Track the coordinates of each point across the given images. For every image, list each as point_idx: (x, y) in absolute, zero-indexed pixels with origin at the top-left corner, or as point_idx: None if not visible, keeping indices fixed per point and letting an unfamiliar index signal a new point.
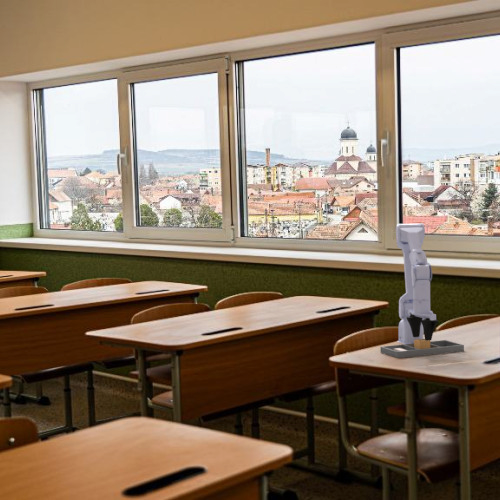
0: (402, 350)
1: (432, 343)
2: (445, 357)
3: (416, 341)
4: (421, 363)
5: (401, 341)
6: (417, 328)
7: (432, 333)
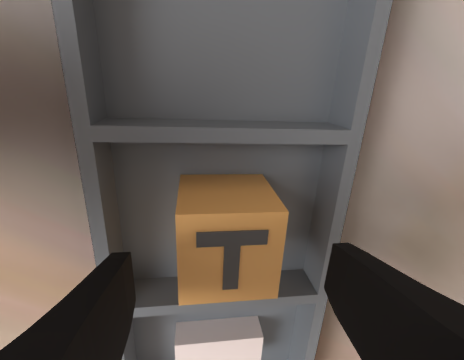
0: (249, 357)
1: (84, 38)
2: (399, 154)
3: (217, 294)
4: None
5: None
6: (97, 349)
7: (406, 281)
